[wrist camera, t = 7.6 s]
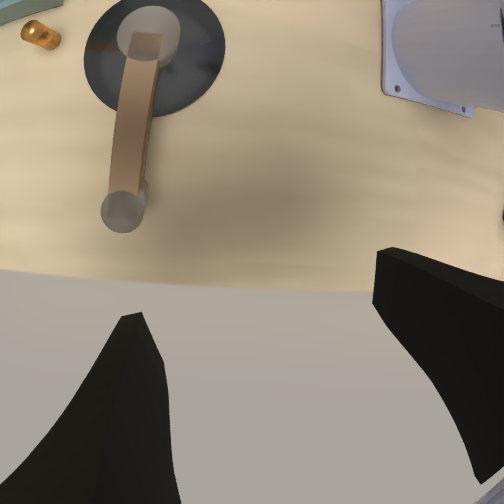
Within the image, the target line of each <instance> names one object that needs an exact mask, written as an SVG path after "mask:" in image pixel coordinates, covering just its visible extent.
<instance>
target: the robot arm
mask: <svg viewBox="0 0 504 504" xmlns="http://www.w3.org/2000/svg"><path fill="white" fill-rule="evenodd" d="M382 15H383V72H382V89H383V91H384V93H385V94H387V95H391V96H395V97H399V98H403V99H407V100H411V101H415V102H419V103H423V104H426V105H430V106H433V107H436V108H440V109H443V110H446V111H449V112H453V113H456V114H459V115H462V116H465V117H468V118H472V117H473V115H474V106H475V107H480V108H485V109H490V110H495V111H499V112H504V0H382ZM395 86H396V87H397V91H395ZM372 304H373V305H374V307H375V308H376V310H377V312H378V313H379V315H380V317H381V318H382V320H383V321H384V323H385V324H386V326H387V327H388V328H389V330H390V331H391V332H392V333H393V335H394V336H395V337H396V338H397V339H398V341H399V342H400V343H401V344H402V345H403V347H404V348H405V349H406V350H407V351H408V352H409V354H410V355H411V356H412V357H413V359H414V360H415V361H416V362H417V363H418V365H419V366H420V367H421V368H422V369H423V371H424V372H425V373H426V375H427V376H428V377H429V379H430V380H431V381H432V383H433V385H434V386H435V388H436V389H437V391H438V392H439V394H440V396H441V398H442V399H443V401H444V403H445V405H446V407H447V408H448V410H449V412H450V414H451V416H452V418H453V420H454V422H455V424H456V426H457V428H458V430H459V433H460V435H461V437H462V440H463V442H464V444H465V447H466V450H467V453H468V456H469V459H470V461H471V464H472V468H473V472H474V475H475V477H476V478H477V480H478V481H479V483H480V484H482V483H484V482H485V481H487V480H488V479H489V478H490V477H492V476H493V475H494V474H495V473H496V472H498V471H499V470H500V469H501V468H502V467H503V466H504V282H503V281H499V280H495V279H491V278H488V277H484V276H481V275H478V274H475V273H472V272H468V271H465V270H462V269H460V268H457V267H454V266H451V265H448V264H445V263H442V262H439V261H437V260H434V259H431V258H428V257H425V256H422V255H419V254H416V253H413V252H410V251H406V250H403V249H399V248H395V247H390V248H387V249H384V250H380V251H377V259H376V271H375V282H374V292H373V301H372ZM170 435H171V434H170V417H169V397H168V387H167V380H166V374H165V367H164V362H163V360H162V357H161V355H160V353H159V351H158V349H157V346H156V344H155V342H154V340H153V338H152V335H151V333H150V331H149V328H148V326H147V324H146V322H145V319H144V317H143V314H142V312H139V313H135V314H130V315H126V316H122V317H121V318H120V320H119V321H118V323H117V325H116V327H115V328H114V330H113V332H112V333H111V335H110V337H109V339H108V340H107V342H106V344H105V346H104V347H103V349H102V351H101V353H100V354H99V356H98V358H97V360H96V361H95V363H94V365H93V366H92V368H91V370H90V372H89V373H88V375H87V376H86V378H85V379H84V381H83V383H82V384H81V386H80V388H79V389H78V391H77V392H76V394H75V395H74V397H73V399H72V400H71V402H70V403H69V405H68V406H67V407H66V409H65V410H64V412H63V413H62V415H61V416H60V417H59V419H58V420H57V421H56V423H55V424H54V426H53V427H52V428H51V429H50V431H49V432H48V433H47V435H46V436H45V437H44V438H43V439H42V440H41V442H40V443H39V444H38V445H37V446H36V448H35V449H34V450H33V451H32V452H31V453H30V455H29V456H28V457H27V458H26V459H25V460H24V461H23V462H22V464H21V465H20V466H19V467H18V468H17V469H16V470H15V471H14V472H13V473H12V474H11V475H10V476H9V477H8V478H7V479H6V480H5V481H4V482H2V483H1V484H0V504H181V500H180V496H179V492H178V487H177V483H176V479H175V474H174V468H173V461H172V450H171V436H170ZM474 504H504V478H503V479H502V480H501V481H500V482H499V483H498V484H496V485H495V486H494V487H493V488H492V489H491V490H490V491H488V492H487V493H486V494H485V495H484V496H483V497H481V498H480V499H479V500H478V501H477V502H475V503H474Z"/></svg>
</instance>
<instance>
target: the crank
mask: <svg viewBox="0 0 504 504" xmlns="http://www.w3.org/2000/svg"><path fill="white" fill-rule="evenodd" d="M179 37H180V24H179V21H178V19H177V17H176V16H175V15H174V13H172V12H171V11H170V10H168V9H166V8H164V7H160V6H146V7H142V8H139V9H137V10H135V11H133V12H131V13H130V14H129V15H128V16H127V17H126V18H125V19H124V20H123V21H122V23H121V24H120V26H119V29H118V32H117V43H118V46H119V48H120V50H121V51H122V53H123V54H124V55H125V56H126V57H127V59H126V64H125V69H124V74H123V79H122V84H121V90H120V96H119V102H118V108H117V115H116V122H115V129H114V137H113V146H112V156H111V167H110V179H109V193H108V195H107V196H106V198H105V200H104V201H103V203H102V206H101V217H102V220H103V222H104V223H105V225H106V226H107V227H108V228H109V229H111V230H112V231H114V232H118V233H127V232H131V231H133V230H134V229H136V228H137V227H138V226H139V225H140V223H141V221H142V219H143V215H144V210H145V205H146V201H147V197H148V186H147V184H146V182H145V180H144V171H145V162H146V154H147V147H148V139H149V132H150V126H151V119H152V113H153V107H154V101H155V96H156V90H157V85H158V80H159V75H160V70H161V69H162V68H164V67H166V66H167V65H168V64H170V63H171V62H172V60H173V59H174V58H175V56H176V54H177V51H178V44H179Z"/></svg>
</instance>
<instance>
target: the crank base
mask: <svg viewBox="0 0 504 504" xmlns="http://www.w3.org/2000/svg"><path fill="white" fill-rule="evenodd" d="M146 6H160V7H164V8H166V9H168V10H170V11H171V12H172V13H174V15H175V16H176V17H177V19H178V21H179V24H180V37H179V44H178V51H177V54H176V56H175V58H174V59H173V60H172V62H171V63H170V64H168V65H167V66H166V67H164V68H162V69H161V70H160V75H159V80H158V85H157V90H156V96H155V101H154V107H153V113H152V117H156V116H163V115H166V114H170V113H173V112H176V111H178V110H181V109H182V108H184V107H186V106H188V105H190V104H191V103H193V102H194V101H196V100H197V99H198V98H199V97H200V96H202V95H203V94H204V93H205V92H206V91H207V90H208V88H209V87H210V86H211V85H212V83H213V82H214V80H215V79H216V77H217V75H218V73H219V71H220V69H221V66H222V63H223V59H224V54H225V38H224V32H223V29H222V26H221V24H220V22H219V20H218V18H217V16H216V15H215V14H214V12H213V11H212V10H211V9H210V8H209V7H208V6H207V5H206V4H205V3H204V2H202V1H201V0H121V1H119V2H118V3H116V4H115V5H113V6H112V7H111V8H110V9H109V10H107V11H106V12H105V13H104V14H103V16H102V17H101V18H100V19H99V20H98V22H97V23H96V24H95V26H94V27H93V29H92V31H91V33H90V35H89V38H88V40H87V43H86V47H85V53H84V69H85V74H86V77H87V80H88V83H89V85H90V87H91V89H92V90H93V92H94V93H95V94H96V96H97V97H98V98H99V99H100V100H101V101H102V102H103V103H104V104H106V105H107V106H109V107H110V108H112V109H114V110H116V111H117V108H118V102H119V96H120V90H121V84H122V79H123V74H124V69H125V64H126V59H127V57H126V56H125V55H124V54H123V53H122V51H121V50H120V48H119V46H118V43H117V32H118V29H119V26H120V24H121V23H122V21H123V20H124V19H125V18H126V17H127V16H128V15H129V14H130V13H131V12H133V11H135V10H137V9H139V8H142V7H146ZM21 38H22V39H23V40H25V41H28V42H30V43H33V44H35V45H38V46H40V47H43V48H45V49H48V50H52V49H54V48H56V47H57V46H58V45H59V43H60V40H61V37H60V34H59V33H57V32H55V31H54V30H52V29H50V28H49V27H47V26H45V25H44V24H42V23H40V22H38V21H37V20H31V21H29V22H27V23H26V24H25V25H24V26H23V28H22V30H21Z"/></svg>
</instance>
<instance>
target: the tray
mask: <svg viewBox="0 0 504 504" xmlns="http://www.w3.org/2000/svg"><path fill="white" fill-rule="evenodd" d="M61 5H63V0H0V25H2V24H5V23H8V22H10V21H13V20H16V19H18V18H21V17H24V16H27V15H30V14H33V13H37V12H40V11H43V10H47V9H50V8H54V7H57V6H61Z"/></svg>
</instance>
